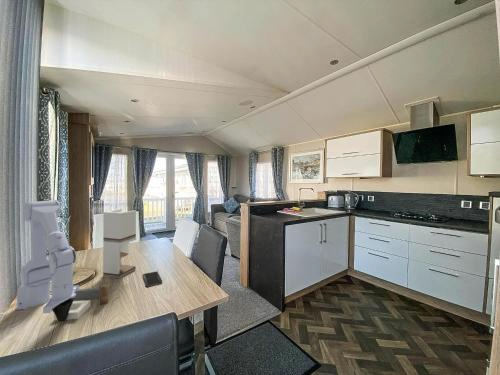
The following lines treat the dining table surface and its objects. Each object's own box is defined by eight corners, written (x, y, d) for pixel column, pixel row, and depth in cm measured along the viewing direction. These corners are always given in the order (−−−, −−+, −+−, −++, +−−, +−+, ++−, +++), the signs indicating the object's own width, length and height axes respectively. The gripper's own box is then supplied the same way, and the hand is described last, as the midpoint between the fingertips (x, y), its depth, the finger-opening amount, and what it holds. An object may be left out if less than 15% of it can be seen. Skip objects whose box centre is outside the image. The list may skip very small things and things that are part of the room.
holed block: (53, 320, 78) (53, 313, 77) (68, 307, 85) (68, 301, 85) (78, 318, 79) (78, 312, 79) (90, 306, 87) (90, 300, 87)
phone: (145, 285, 105) (142, 274, 117) (145, 288, 105) (142, 276, 117) (162, 282, 109) (157, 271, 122) (162, 284, 109) (157, 273, 122)
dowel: (98, 307, 88) (98, 288, 87) (101, 303, 91) (102, 284, 90) (106, 306, 88) (106, 287, 88) (109, 302, 91) (109, 284, 91)
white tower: (119, 278, 113) (120, 213, 112) (103, 276, 115) (103, 212, 114) (135, 269, 124) (136, 210, 123) (120, 267, 126) (120, 209, 125)
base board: (45, 326, 76) (45, 313, 76) (76, 299, 93) (76, 289, 92) (80, 323, 78) (80, 311, 77) (104, 298, 94) (104, 288, 94)
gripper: (60, 293, 69) (60, 334, 70) (87, 274, 84) (86, 307, 84) (35, 294, 68) (35, 335, 69) (66, 274, 83) (66, 308, 83)
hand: (62, 320), depth 76 cm, fingers closed
